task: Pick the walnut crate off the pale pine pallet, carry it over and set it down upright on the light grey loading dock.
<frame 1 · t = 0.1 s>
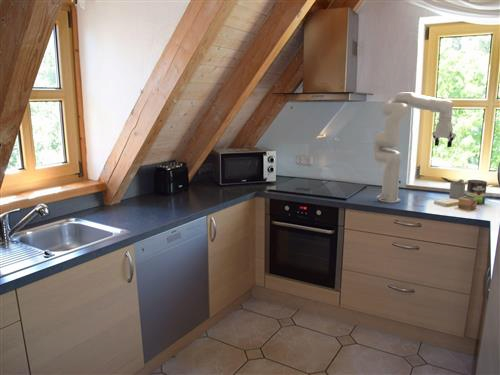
hand: (442, 146, 282), 31 cm above the worktop, fingers open, 9 cm apart
coffee can: (474, 204, 257), on the worktop
crate: (466, 208, 243), point 1 cm above the worktop, touching pallet
pallet: (466, 210, 243), on the worktop
cup: (456, 199, 270), on the worktop
dock: (447, 205, 254), on the worktop
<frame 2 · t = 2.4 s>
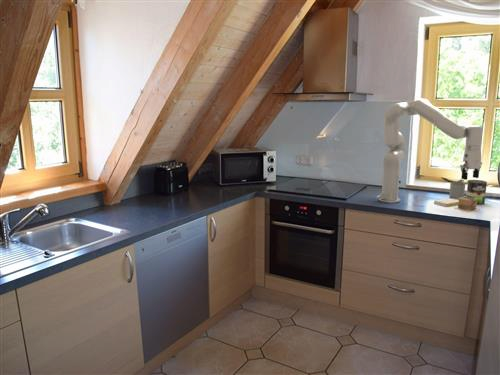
hand: (469, 178, 240), 19 cm above the worktop, fingers open, 9 cm apart
nothing on the worktop moved.
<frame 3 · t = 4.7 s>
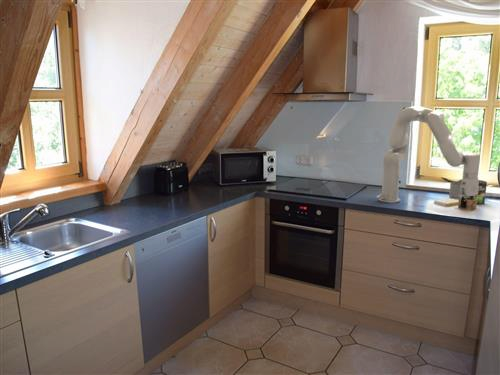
hand: (467, 206, 243), 2 cm above the worktop, fingers closed on crate, 6 cm apart
crate: (466, 208, 243), point 1 cm above the worktop, touching gripper, pallet
everything else where it was.
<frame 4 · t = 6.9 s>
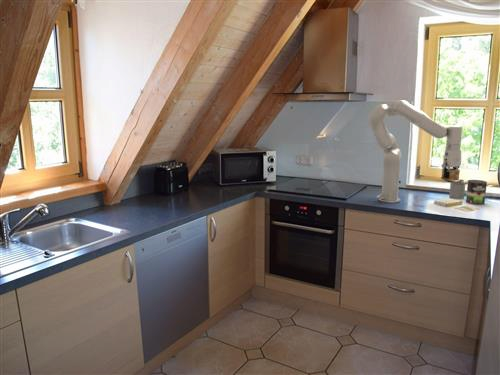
hand: (450, 177, 250), 17 cm above the worktop, fingers closed on crate, 6 cm apart
crate: (450, 179, 251), point 16 cm above the worktop, touching gripper
everything else where it was.
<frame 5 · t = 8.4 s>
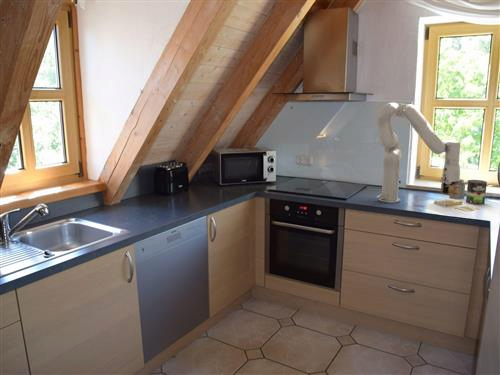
hand: (449, 192, 252), 8 cm above the worktop, fingers closed on crate, 6 cm apart
crate: (449, 194, 252), point 7 cm above the worktop, touching gripper
everything else where it was.
when the fingers open (5 cm above the worktop, at t = 9.6 s): crate stays where it is, resting on dock.
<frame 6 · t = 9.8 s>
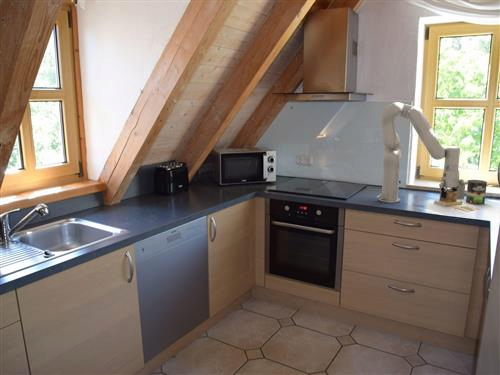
hand: (448, 196, 253), 6 cm above the worktop, fingers open, 8 cm apart
crate: (447, 200, 253), point 3 cm above the worktop, touching dock
everything else where it was.
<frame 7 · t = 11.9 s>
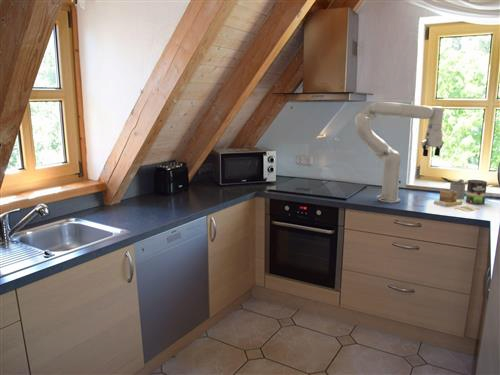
hand: (430, 155, 260), 28 cm above the worktop, fingers open, 9 cm apart
nothing on the worktop moved.
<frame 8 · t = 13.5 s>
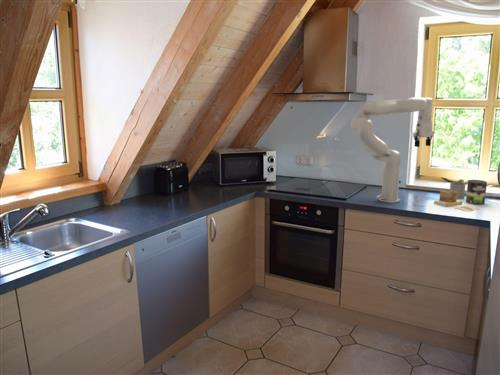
hand: (422, 146, 266), 33 cm above the worktop, fingers open, 9 cm apart
nothing on the worktop moved.
at the end: crate inside the target area on the dock (0.1 cm from its centre), point 3.0 cm above the dock's base; crate tilted 0°; the gripper is holding nothing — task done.
